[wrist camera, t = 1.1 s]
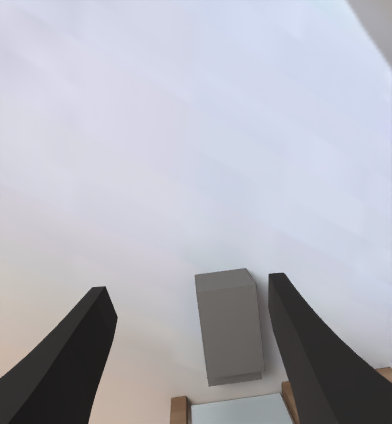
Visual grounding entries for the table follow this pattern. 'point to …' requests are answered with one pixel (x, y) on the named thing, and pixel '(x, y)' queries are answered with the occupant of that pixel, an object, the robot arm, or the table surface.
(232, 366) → the tall grey block
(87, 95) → the table surface
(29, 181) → the table surface
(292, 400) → the doorway frame
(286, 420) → the flap
